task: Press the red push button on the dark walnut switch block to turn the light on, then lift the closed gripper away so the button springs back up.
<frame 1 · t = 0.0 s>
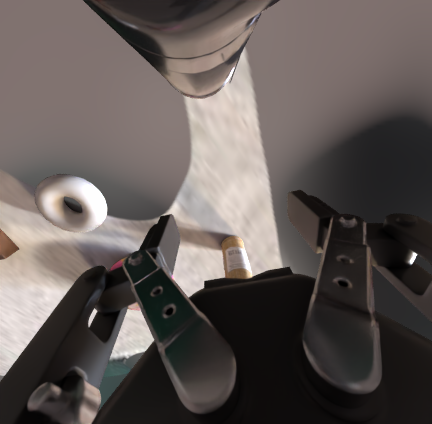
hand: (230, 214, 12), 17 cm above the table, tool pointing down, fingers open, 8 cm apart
sprinkles bottle: (232, 243, 35), on the table
donut: (80, 200, 30), on the table
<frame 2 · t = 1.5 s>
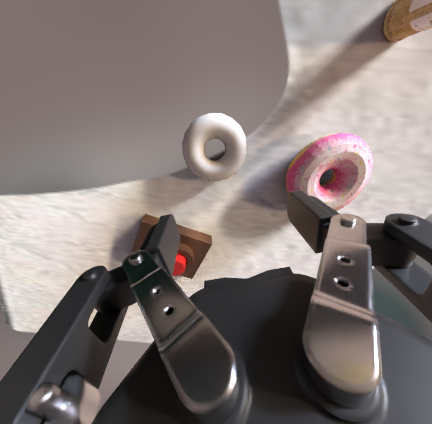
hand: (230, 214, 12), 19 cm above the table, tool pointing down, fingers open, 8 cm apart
sprinkles bottle: (398, 19, 22), on the table
light button: (175, 264, 34), point 5 cm above the table, slide at 0.1 cm
donut 2: (317, 172, 32), on the table
switch block: (171, 244, 38), on the table
donut: (214, 147, 29), on the table
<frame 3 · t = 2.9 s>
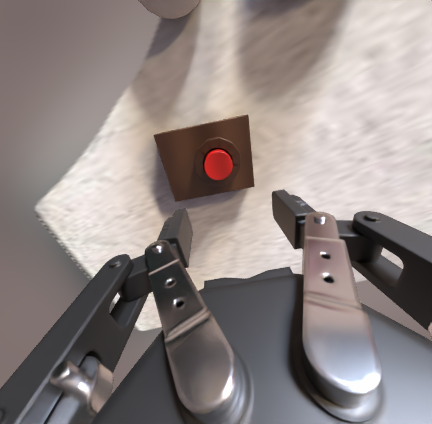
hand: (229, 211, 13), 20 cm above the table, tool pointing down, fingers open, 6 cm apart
light button: (218, 164, 25), point 5 cm above the table, slide at 0.1 cm
switch block: (207, 159, 30), on the table
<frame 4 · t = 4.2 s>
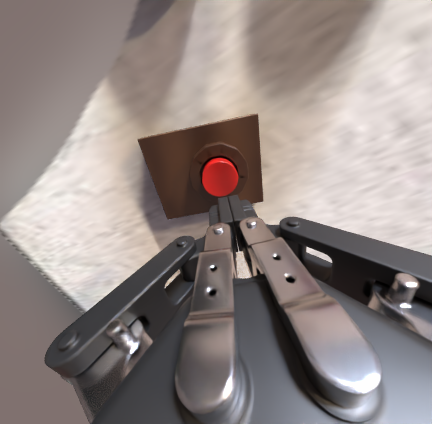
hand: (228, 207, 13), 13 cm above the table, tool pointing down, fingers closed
light button: (219, 177, 20), point 5 cm above the table, slide at 0.1 cm
switch block: (206, 168, 25), on the table
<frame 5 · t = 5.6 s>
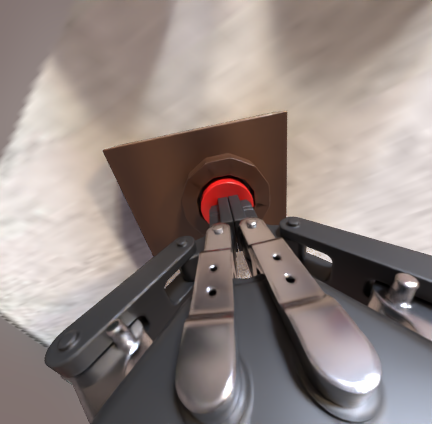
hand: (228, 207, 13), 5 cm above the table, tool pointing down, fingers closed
light button: (226, 202, 14), point 4 cm above the table, slide at -0.9 cm, touching gripper
switch block: (207, 187, 18), on the table
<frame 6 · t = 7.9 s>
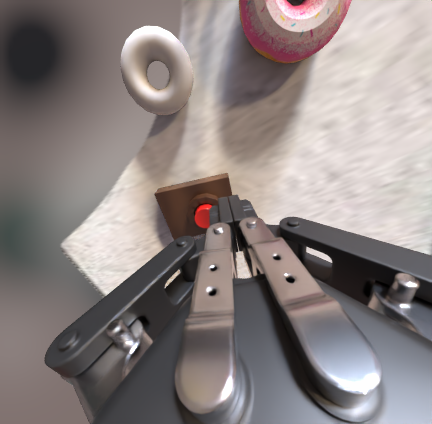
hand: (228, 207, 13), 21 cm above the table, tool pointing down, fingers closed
light button: (205, 216, 32), point 5 cm above the table, slide at 0.1 cm
donut 2: (286, 2, 23), on the table
switch block: (199, 205, 36), on the table
donut: (161, 78, 26), on the table
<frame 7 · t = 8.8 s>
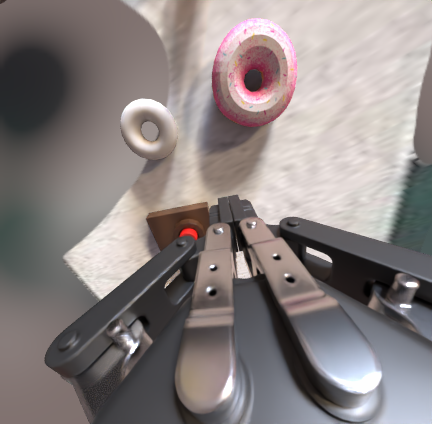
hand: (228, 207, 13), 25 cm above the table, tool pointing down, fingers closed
light button: (188, 237, 39), point 5 cm above the table, slide at 0.1 cm
donut 2: (250, 82, 30), on the table
switch block: (184, 226, 43), on the table
donut: (152, 130, 33), on the table
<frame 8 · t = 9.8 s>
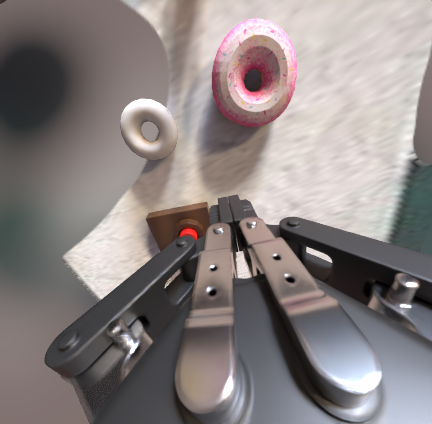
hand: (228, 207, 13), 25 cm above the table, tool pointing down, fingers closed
light button: (188, 237, 39), point 5 cm above the table, slide at 0.1 cm
donut 2: (249, 82, 30), on the table
switch block: (184, 226, 43), on the table
donut: (152, 130, 33), on the table
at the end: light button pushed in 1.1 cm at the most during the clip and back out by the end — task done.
